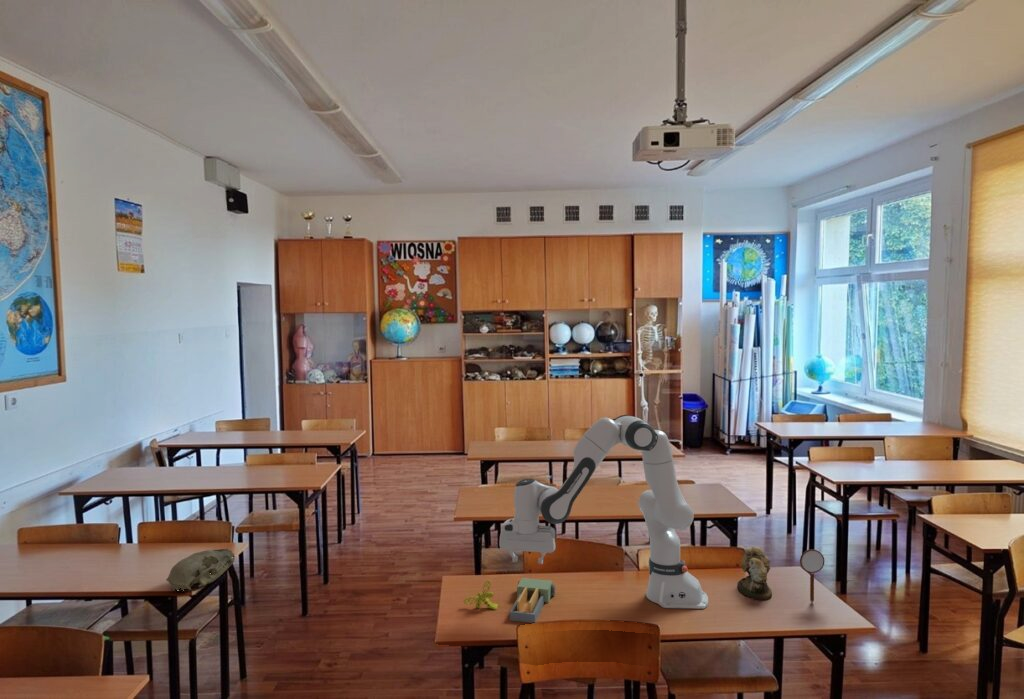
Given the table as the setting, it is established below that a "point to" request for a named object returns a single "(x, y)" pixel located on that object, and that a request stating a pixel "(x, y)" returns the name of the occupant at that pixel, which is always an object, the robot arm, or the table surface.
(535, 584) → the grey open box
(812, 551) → the magnifying glass
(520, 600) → the chute
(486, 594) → the decorative insect
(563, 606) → the table surface
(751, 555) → the stone bust
